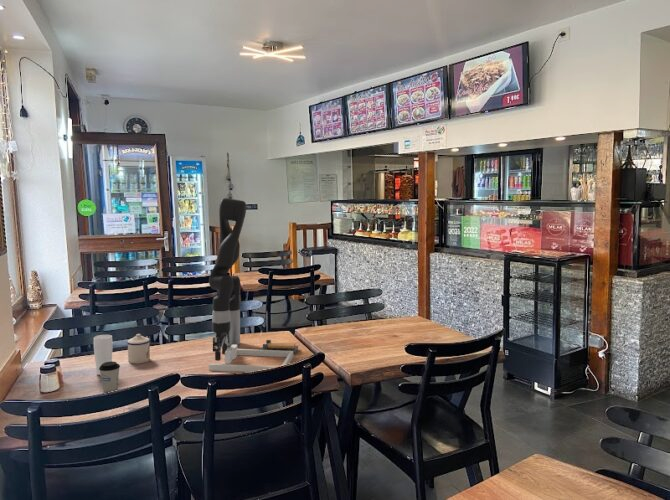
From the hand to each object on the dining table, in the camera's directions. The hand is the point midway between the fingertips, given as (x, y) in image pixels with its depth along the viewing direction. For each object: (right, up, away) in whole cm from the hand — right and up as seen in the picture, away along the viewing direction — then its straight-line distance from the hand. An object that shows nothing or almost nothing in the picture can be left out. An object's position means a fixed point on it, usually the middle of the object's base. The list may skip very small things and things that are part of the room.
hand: (221, 357), depth 208 cm
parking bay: (+14, -2, -1) cm, 14 cm away
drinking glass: (-43, -3, -15) cm, 46 cm away
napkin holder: (+4, -2, +5) cm, 7 cm away
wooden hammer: (+23, +1, +16) cm, 28 cm away
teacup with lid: (-36, -2, +2) cm, 37 cm away
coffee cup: (-33, -5, -32) cm, 46 cm away
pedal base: (+23, -1, +16) cm, 28 cm away
